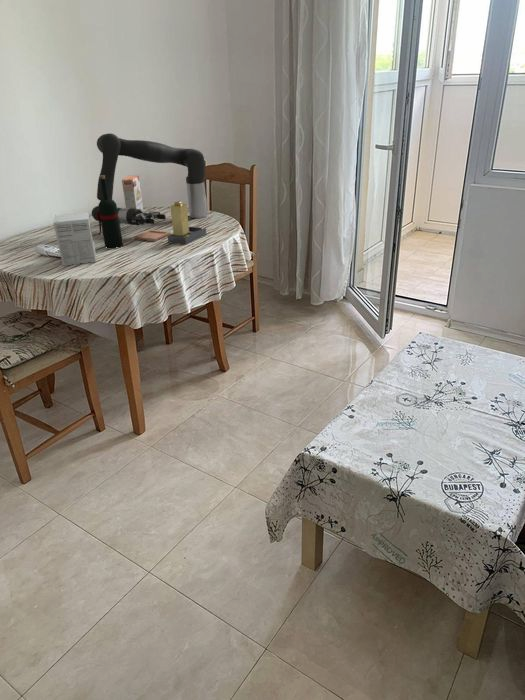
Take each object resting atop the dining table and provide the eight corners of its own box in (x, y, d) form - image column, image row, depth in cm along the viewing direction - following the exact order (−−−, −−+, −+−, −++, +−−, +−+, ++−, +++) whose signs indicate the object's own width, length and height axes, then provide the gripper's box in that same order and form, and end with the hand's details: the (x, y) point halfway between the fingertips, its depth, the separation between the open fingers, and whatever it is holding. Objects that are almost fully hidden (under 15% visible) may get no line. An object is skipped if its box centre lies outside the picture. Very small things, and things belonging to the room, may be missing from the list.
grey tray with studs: (188, 232, 246) (188, 225, 244) (206, 234, 242) (205, 227, 241) (168, 242, 233) (167, 234, 231) (186, 244, 229) (185, 236, 227)
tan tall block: (180, 239, 237) (176, 200, 229) (190, 240, 235) (186, 201, 227) (174, 242, 233) (170, 203, 225) (183, 243, 231) (179, 203, 223)
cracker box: (138, 221, 269) (132, 179, 260) (127, 221, 270) (120, 179, 260) (144, 215, 282) (139, 174, 272) (133, 215, 282) (127, 175, 272)
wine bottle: (104, 243, 235) (91, 174, 221) (125, 243, 233) (114, 173, 220) (97, 248, 228) (84, 177, 214) (119, 248, 227) (108, 177, 213)
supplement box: (96, 262, 211) (88, 219, 202) (62, 266, 208) (52, 222, 199) (96, 253, 222) (88, 211, 214) (63, 256, 219) (54, 215, 211)
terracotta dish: (149, 232, 248) (149, 229, 248) (170, 234, 244) (170, 232, 243) (134, 239, 239) (133, 236, 238) (155, 241, 234) (155, 238, 234)
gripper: (119, 211, 233) (149, 214, 226) (139, 205, 244) (167, 207, 238) (122, 228, 236) (151, 231, 230) (141, 221, 248) (169, 223, 241)
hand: (159, 219), depth 234 cm, fingers open, 8 cm apart
